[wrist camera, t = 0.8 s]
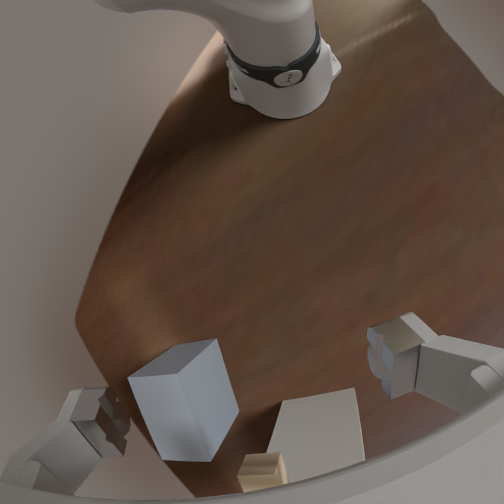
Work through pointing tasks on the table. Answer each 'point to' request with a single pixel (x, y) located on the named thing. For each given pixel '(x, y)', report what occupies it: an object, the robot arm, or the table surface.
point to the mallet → (262, 471)
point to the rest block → (186, 401)
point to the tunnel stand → (318, 434)
